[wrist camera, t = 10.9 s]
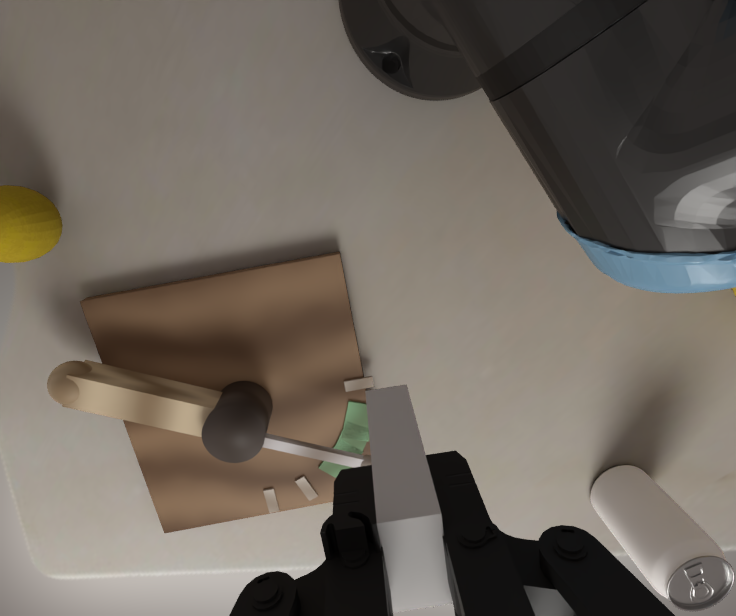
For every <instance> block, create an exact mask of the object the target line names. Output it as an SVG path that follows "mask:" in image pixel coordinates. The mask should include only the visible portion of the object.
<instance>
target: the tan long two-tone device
mask: <svg viewBox="0 0 736 616" xmlns="http://www.w3.org/2000/svg"><path fill="white" fill-rule="evenodd" d="M47 388H48V392H49V394H50V396H51V397H52V398H53V399H54V400H55V401H56V402H58V403H60V404H63V405H62V406H63V407H67V408H72V409H76V410H81V411H85V412H90V413H94V414H99V415H103V416H108V417H112V418H117V419H121V420H126V421H131V422H135V423H140V424H144V425H149V426H153V427H158V428H162V429H167V430H171V431H176V432H180V433H185V434H189V435H194V436H198V437H202V441H203V444H204V446H205V448H206V450H207V451H208V452H209V453H210V454H211V455H212V456H214V457H215V458H217V459H219V460H221V461H224V462H228V463H240V462H245V461H248V460H250V459H252V458H253V457H255V456H256V455H257V454H258V453H259V452H260V450H261V449H262V447H264V448H268V449H273V450H277V451H282V452H286V453H291V454H295V455H300V456H304V457H309V458H313V459H318V460H322V461H327V462H331V463H336V464H340V465H345V466H349V467H354V468H355V467H361V466H367V465H372V463H371V455H360V454H356V453H352V452H347V451H343V450H338V449H334V448H329V447H325V446H321V445H316V444H312V443H307V442H303V441H299V440H294V439H290V438H285V437H281V436H277V435H272V434H268V433H267V429H268V426H269V422H270V418H271V414H272V410H273V404H272V399H271V397H270V395H269V393H268V392H267V391H266V390H265V389H264V388H263V387H262V386H260V385H258V384H256V383H254V382H250V381H237V382H233V383H231V384H229V385H227V386H226V387H225V388H223V390H222V391H221V392H220V391H216V390H211V389H207V388H203V387H199V386H194V385H190V384H186V383H182V382H177V381H173V380H169V379H165V378H160V377H156V376H152V375H148V374H143V373H139V372H135V371H131V370H126V369H122V368H118V367H114V366H110V365H105V364H101V363H97V362H93V361H88V360H85V361H84V362H82V361H69V362H65V363H63V364H61V365H59V366H58V367H56V368H55V369H54V370H53V371H52V372H51V374H50V376H49V378H48V382H47Z"/></svg>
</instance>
